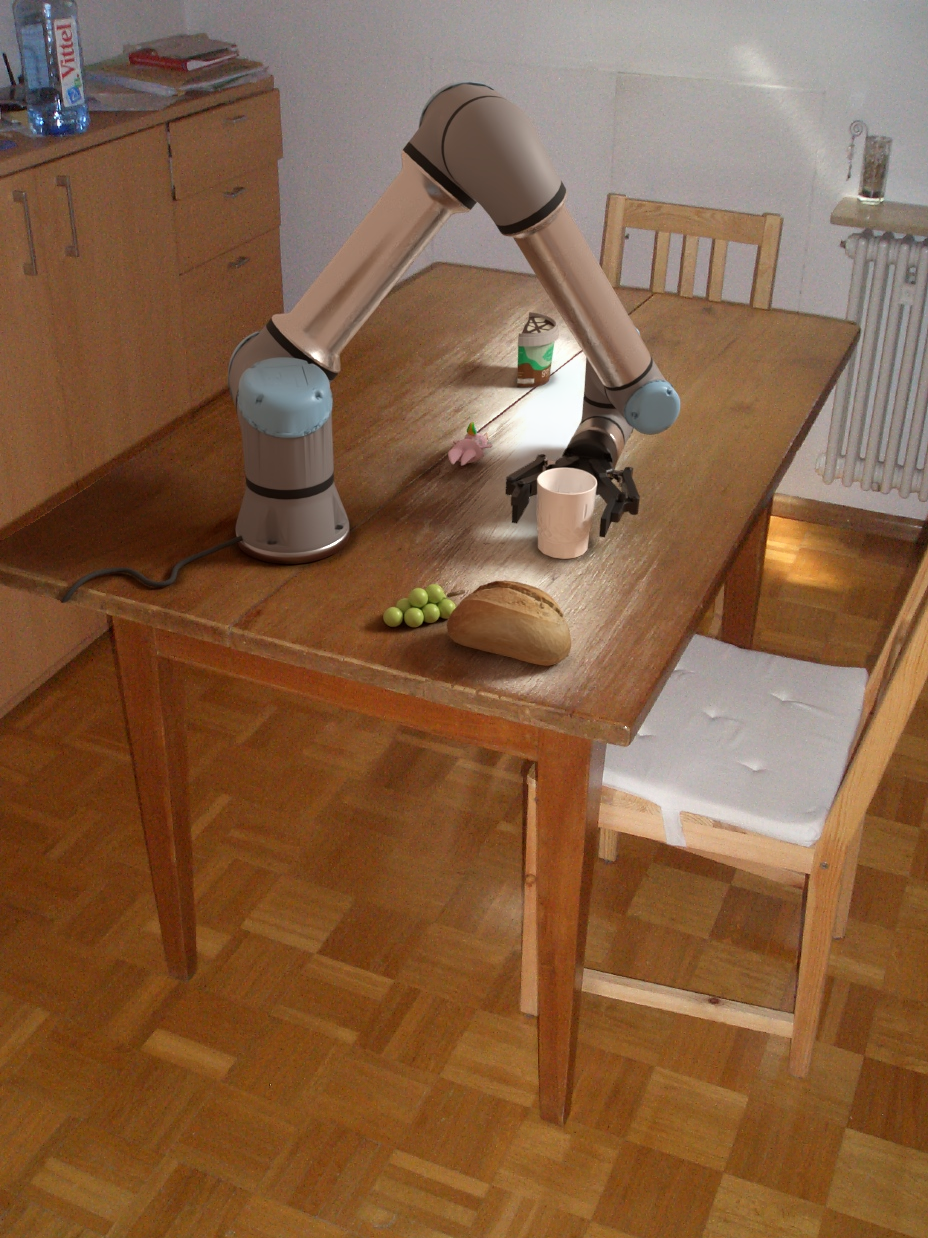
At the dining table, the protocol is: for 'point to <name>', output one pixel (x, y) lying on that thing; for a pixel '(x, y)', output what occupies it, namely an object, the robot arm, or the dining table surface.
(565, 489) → the white cup
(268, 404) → the robot arm
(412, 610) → the grapes
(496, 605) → the bread roll
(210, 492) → the dining table surface
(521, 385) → the food container
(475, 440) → the rabbit figure
